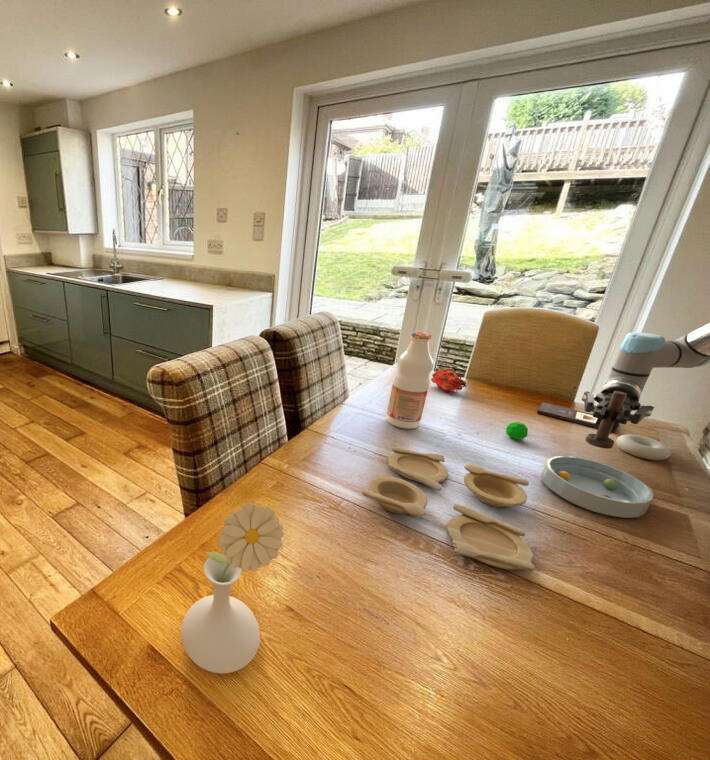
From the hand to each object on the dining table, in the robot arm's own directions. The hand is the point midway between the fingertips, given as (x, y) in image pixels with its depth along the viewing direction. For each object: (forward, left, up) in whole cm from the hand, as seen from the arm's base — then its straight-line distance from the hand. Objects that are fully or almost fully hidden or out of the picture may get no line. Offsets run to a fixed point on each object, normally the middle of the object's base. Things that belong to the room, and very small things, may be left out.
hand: (607, 421), depth 93 cm
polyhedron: (+16, -5, -14) cm, 21 cm away
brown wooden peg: (0, -6, -8) cm, 10 cm away
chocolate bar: (+7, -35, -13) cm, 38 cm away
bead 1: (+3, +12, -11) cm, 17 cm away
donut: (-8, -22, -14) cm, 27 cm away
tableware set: (+18, +40, -14) cm, 46 cm away
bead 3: (-5, +17, -11) cm, 21 cm away
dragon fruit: (+42, -28, -14) cm, 52 cm away
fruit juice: (+41, +10, -14) cm, 44 cm away
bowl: (-2, +12, -13) cm, 18 cm away
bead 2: (-5, +8, -11) cm, 15 cm away
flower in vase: (+27, +98, -14) cm, 103 cm away
